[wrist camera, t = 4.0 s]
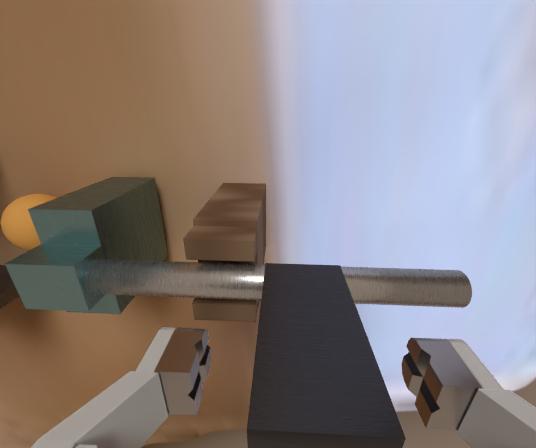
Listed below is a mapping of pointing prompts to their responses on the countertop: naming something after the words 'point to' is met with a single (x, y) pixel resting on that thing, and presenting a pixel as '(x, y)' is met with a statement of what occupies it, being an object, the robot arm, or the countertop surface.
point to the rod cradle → (229, 243)
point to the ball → (22, 220)
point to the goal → (6, 287)
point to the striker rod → (238, 287)
